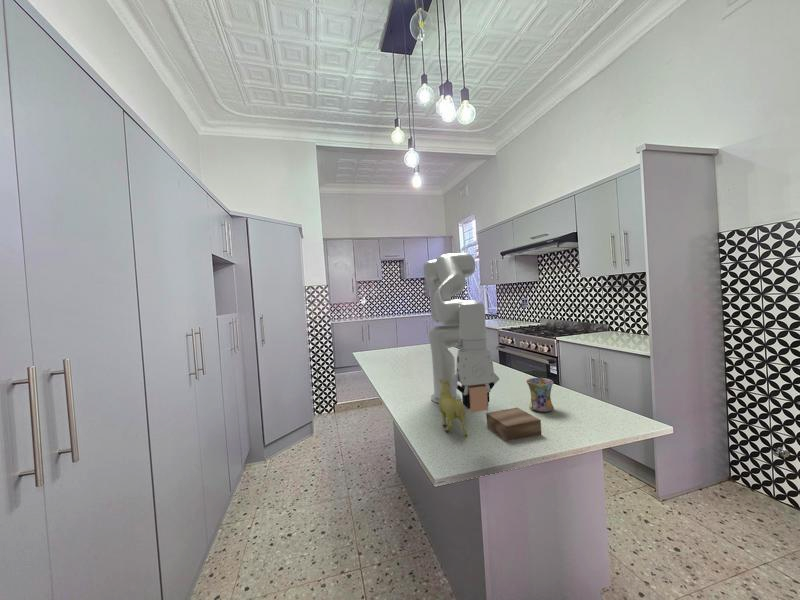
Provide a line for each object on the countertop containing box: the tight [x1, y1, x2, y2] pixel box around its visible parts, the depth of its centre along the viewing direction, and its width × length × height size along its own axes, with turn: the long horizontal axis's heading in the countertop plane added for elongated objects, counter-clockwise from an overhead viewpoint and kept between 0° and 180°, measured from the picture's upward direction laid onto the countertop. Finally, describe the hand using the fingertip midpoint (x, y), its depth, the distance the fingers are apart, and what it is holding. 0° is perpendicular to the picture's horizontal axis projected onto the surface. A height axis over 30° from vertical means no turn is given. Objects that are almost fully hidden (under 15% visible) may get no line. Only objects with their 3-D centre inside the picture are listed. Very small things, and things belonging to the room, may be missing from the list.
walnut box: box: [485, 407, 542, 443], centre depth 105 cm, size 12×12×5 cm
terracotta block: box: [468, 384, 489, 413], centre depth 95 cm, size 5×5×7 cm
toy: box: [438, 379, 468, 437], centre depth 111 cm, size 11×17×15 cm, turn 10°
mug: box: [526, 377, 554, 413], centre depth 123 cm, size 12×9×11 cm
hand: (476, 405), depth 95 cm, fingers closed on terracotta block, 5 cm apart
